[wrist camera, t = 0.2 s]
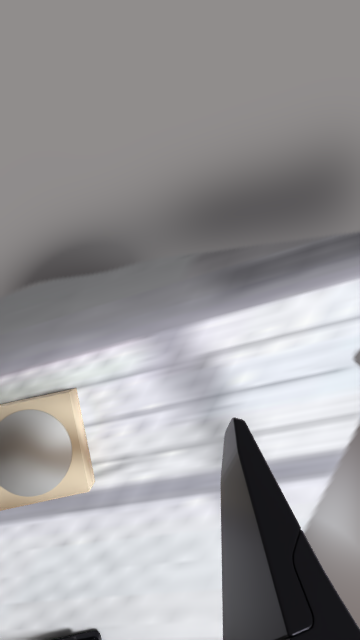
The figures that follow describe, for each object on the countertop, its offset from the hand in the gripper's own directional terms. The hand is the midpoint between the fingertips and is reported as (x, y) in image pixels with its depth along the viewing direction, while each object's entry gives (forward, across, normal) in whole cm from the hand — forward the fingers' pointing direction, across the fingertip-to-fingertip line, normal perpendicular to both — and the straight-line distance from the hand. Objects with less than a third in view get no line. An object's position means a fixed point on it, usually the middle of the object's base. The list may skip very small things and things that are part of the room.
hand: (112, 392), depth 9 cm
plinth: (+6, +9, +18) cm, 21 cm away
